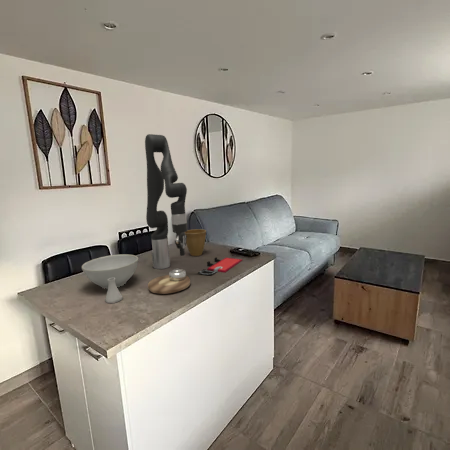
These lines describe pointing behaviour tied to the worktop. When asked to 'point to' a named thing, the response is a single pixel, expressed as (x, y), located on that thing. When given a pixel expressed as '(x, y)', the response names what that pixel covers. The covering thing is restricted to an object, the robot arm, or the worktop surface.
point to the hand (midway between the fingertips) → (182, 255)
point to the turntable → (167, 285)
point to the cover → (177, 275)
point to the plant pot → (195, 241)
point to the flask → (113, 292)
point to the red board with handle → (220, 265)
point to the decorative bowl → (110, 269)
